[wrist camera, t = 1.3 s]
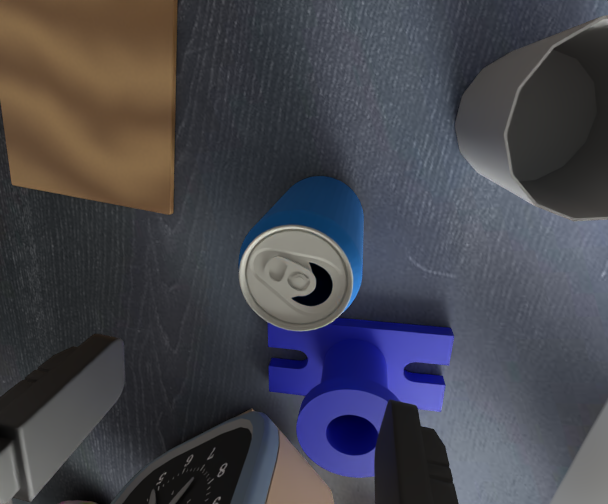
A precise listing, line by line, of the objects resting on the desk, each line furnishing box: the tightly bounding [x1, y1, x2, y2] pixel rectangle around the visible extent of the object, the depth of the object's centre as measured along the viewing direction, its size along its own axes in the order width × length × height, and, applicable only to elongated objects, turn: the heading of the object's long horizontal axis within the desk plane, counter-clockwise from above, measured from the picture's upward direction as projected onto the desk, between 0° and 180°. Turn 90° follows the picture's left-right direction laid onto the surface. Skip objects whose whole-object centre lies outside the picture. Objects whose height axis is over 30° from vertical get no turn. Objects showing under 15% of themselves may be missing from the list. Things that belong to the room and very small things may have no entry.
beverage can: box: [238, 176, 364, 331], centre depth 24 cm, size 6×6×12 cm
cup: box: [455, 15, 608, 221], centre depth 21 cm, size 8×8×10 cm
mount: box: [268, 318, 454, 478], centre depth 30 cm, size 15×8×9 cm, turn 89°
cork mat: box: [0, 0, 177, 215], centre depth 29 cm, size 16×14×1 cm
